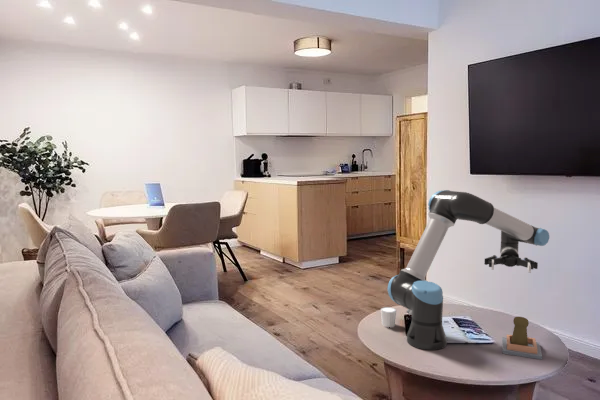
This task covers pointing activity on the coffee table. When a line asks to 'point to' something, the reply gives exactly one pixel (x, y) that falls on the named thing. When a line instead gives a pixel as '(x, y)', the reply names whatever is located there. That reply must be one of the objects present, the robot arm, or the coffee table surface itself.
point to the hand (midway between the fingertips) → (510, 267)
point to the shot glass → (388, 316)
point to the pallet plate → (522, 348)
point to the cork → (520, 331)
